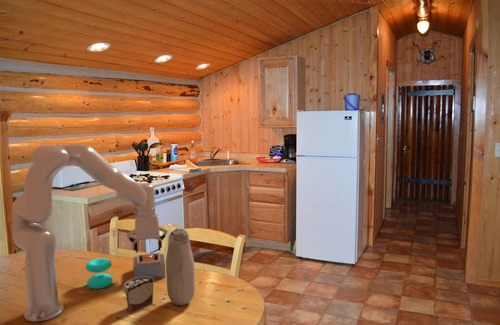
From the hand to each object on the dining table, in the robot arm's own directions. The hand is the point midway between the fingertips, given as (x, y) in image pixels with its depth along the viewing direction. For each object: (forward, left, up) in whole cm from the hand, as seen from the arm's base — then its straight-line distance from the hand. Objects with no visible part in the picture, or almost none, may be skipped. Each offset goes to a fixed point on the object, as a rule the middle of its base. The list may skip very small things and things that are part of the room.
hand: (148, 250), depth 180 cm
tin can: (0, 0, -10) cm, 10 cm away
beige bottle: (-32, -11, -11) cm, 35 cm away
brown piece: (-30, +5, -11) cm, 32 cm away
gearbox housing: (0, 0, -10) cm, 10 cm away
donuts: (-6, +20, -11) cm, 23 cm away
